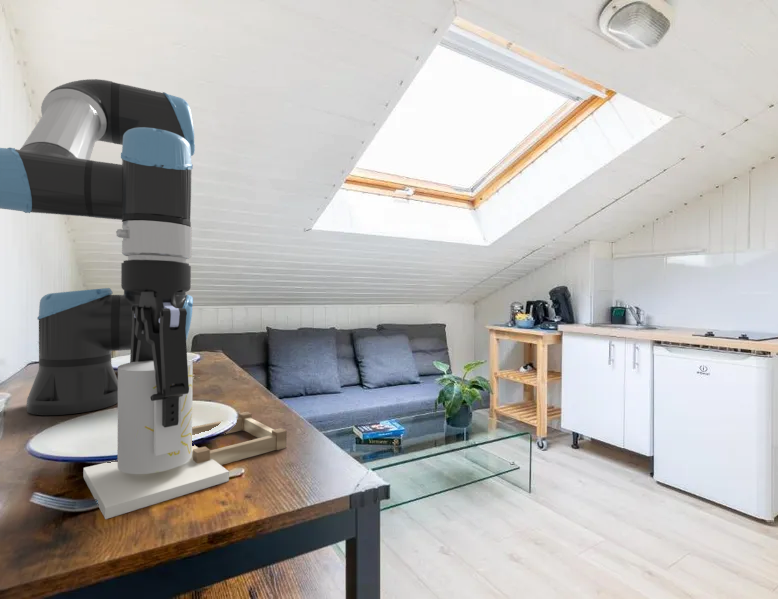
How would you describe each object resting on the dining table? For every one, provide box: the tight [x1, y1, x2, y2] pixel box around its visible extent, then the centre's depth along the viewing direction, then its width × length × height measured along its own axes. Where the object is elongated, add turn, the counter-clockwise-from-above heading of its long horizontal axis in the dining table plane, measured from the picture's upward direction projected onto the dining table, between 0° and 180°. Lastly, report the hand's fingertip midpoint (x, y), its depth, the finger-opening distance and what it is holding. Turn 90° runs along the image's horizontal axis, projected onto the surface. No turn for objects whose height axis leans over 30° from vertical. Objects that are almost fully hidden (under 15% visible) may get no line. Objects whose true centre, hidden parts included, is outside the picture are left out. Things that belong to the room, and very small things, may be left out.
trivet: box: [82, 457, 230, 520], centre depth 52 cm, size 13×13×1 cm
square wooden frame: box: [192, 411, 288, 466], centre depth 64 cm, size 13×13×3 cm
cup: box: [117, 359, 194, 474], centre depth 52 cm, size 8×8×12 cm
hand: (156, 441), depth 52 cm, fingers closed on cup, 8 cm apart
